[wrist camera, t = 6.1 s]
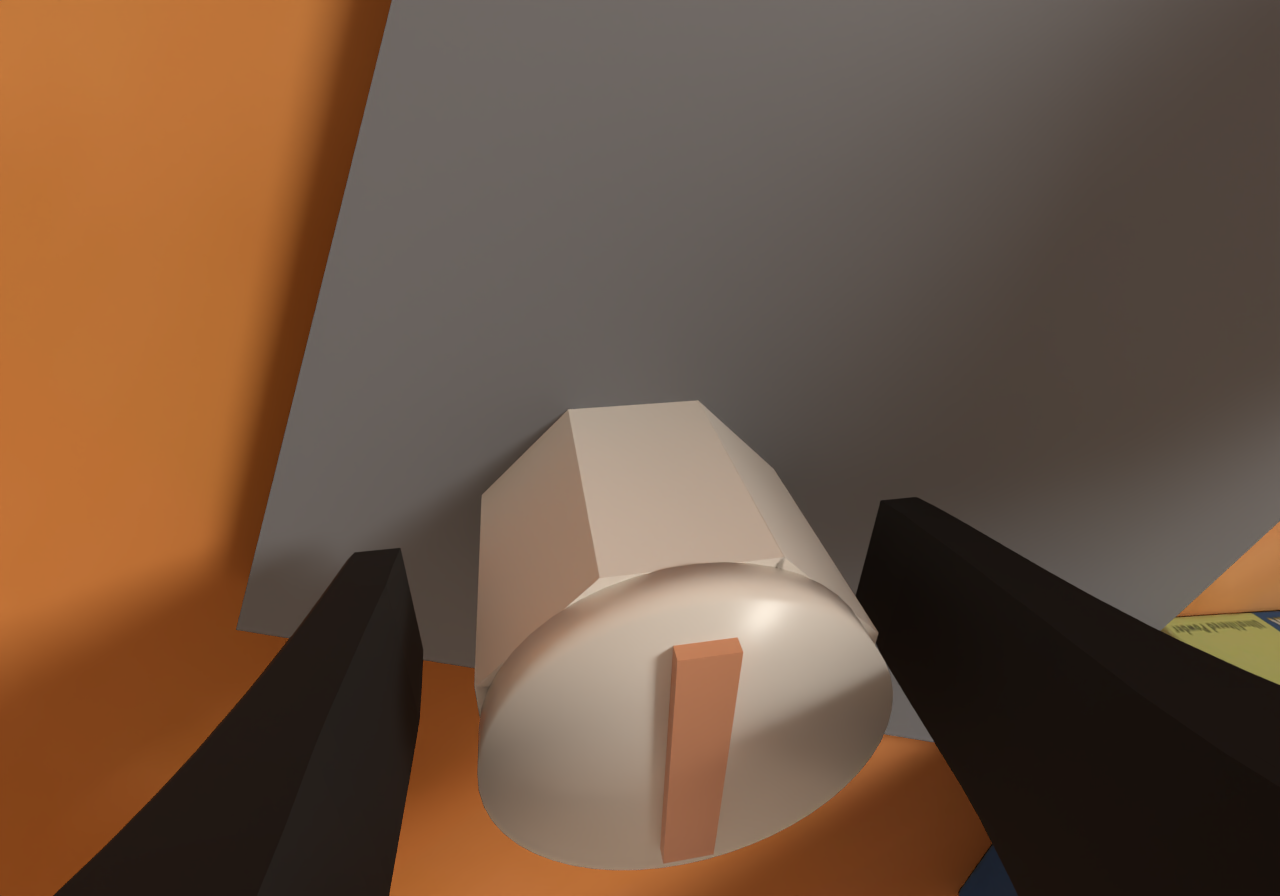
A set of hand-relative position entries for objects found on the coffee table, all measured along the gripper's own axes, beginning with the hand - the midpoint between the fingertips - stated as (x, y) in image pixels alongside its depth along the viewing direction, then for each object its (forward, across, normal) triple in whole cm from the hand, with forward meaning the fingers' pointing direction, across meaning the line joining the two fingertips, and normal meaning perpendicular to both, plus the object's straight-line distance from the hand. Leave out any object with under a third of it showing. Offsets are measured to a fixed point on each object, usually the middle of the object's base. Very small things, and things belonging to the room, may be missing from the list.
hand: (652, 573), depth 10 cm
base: (+3, -6, -1) cm, 6 cm away
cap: (+2, 0, 0) cm, 2 cm away
